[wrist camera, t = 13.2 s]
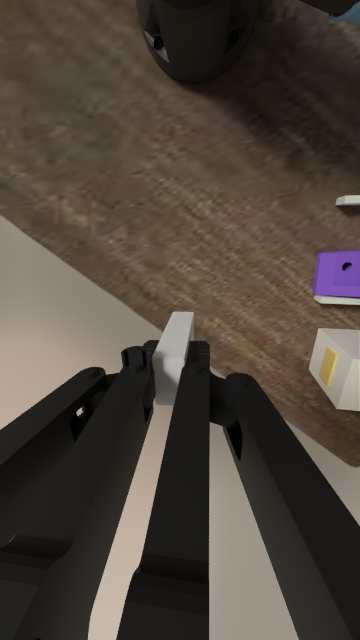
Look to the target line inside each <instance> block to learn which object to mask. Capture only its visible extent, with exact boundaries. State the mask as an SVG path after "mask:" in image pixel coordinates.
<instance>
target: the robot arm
mask: <svg viewBox="0 0 360 640" xmlns="http://www.w3.org/2000/svg"><path fill="white" fill-rule="evenodd" d="M299 1H302V2H304V3H306V4H308V5H310V6H313V7H315V8H317V9H319V10H322V11H324V12H326V13H328V14H329V18H330V19H332V20H333V21H341V20H346V21H349V22H351V23H354V24H357V25H360V0H299ZM258 4H259V0H136V5H137V12H138V17H139V22H140V25H141V29H142V32H143V35H144V38H145V41H146V44H147V46H148V49H149V51H150V53H151V55H152V56H153V58H154V60H155V61H156V63H157V64H158V65H159V66H160V67H161V68H162V69H163V70H164V71H165V72H166V73H167V74H168V75H170V76H171V77H173V78H175V79H177V80H180V81H183V82H188V83H198V82H203V81H207V80H210V79H212V78H214V77H216V76H218V75H219V74H221V73H222V72H223V71H225V70H226V69H227V68H228V67H229V66H230V65H231V64H232V63H233V62H234V61H235V59H236V58H237V57H238V56H239V54H240V53H241V51H242V49H243V48H244V46H245V44H246V42H247V40H248V38H249V36H250V33H251V31H252V28H253V25H254V22H255V18H256V14H257V9H258ZM121 355H122V363H123V368H122V370H121V371H120V373H115V374H108V375H106V373H105V370H104V369H103V368H101V367H90V368H87V369H84V370H83V371H80V372H79V373H77V374H76V375H75V376H73V377H72V378H71V379H69V380H68V381H67V382H65V383H64V384H62V385H61V386H60V387H59V388H57V389H56V390H54V391H53V392H52V393H50V394H49V395H47V396H46V397H45V398H43V399H42V400H41V401H39V402H38V403H37V404H35V405H34V406H33V407H31V408H30V409H29V410H27V411H26V412H24V413H23V414H22V415H20V416H19V417H17V418H16V419H15V420H13V421H12V422H11V423H9V424H8V425H7V426H5V427H4V428H2V429H1V430H0V640H88V630H89V621H90V616H91V612H92V608H93V604H94V601H95V598H96V595H97V591H98V588H99V585H100V582H101V579H102V575H103V572H104V569H105V566H106V562H107V559H108V556H109V553H110V549H111V546H112V543H113V540H114V537H115V534H116V530H117V527H118V524H119V521H120V517H121V514H122V511H123V508H124V505H125V501H126V498H127V495H128V492H129V489H130V485H131V482H132V479H133V476H134V473H135V469H136V466H137V463H138V460H139V456H140V453H141V450H142V447H143V443H144V440H145V437H146V434H147V431H148V427H149V424H150V421H151V418H152V415H153V401H154V398H155V400H156V404H159V405H173V406H174V407H173V412H172V417H171V422H170V426H169V431H168V436H167V440H166V445H165V450H164V454H163V460H162V464H161V469H160V473H159V478H158V483H157V487H156V492H155V497H154V502H153V507H152V511H151V516H150V520H149V525H148V530H147V534H146V539H145V544H144V549H143V553H142V557H141V561H140V564H139V567H138V568H137V569H136V570H135V572H134V574H133V576H132V579H131V582H130V585H129V589H128V593H127V596H126V600H125V604H124V608H123V613H122V618H121V622H120V626H119V630H118V634H117V639H116V640H209V434H210V432H209V431H210V430H209V429H210V427H209V425H210V422H212V423H215V424H218V425H221V426H223V431H224V434H225V437H226V440H227V442H228V445H229V448H230V451H231V453H232V456H233V458H234V462H235V464H236V467H237V470H238V472H239V475H240V478H241V481H242V484H243V486H244V489H245V492H246V495H247V497H248V500H249V503H250V506H251V508H252V511H253V514H254V517H255V519H256V522H257V525H258V528H259V531H260V533H261V536H262V539H263V541H264V544H265V547H266V550H267V552H268V555H269V558H270V561H271V564H272V566H273V569H274V572H275V574H276V577H277V580H278V583H279V586H280V588H281V591H282V594H283V597H284V599H285V602H286V605H287V608H288V610H289V613H290V616H291V619H292V621H293V624H294V627H295V630H296V632H297V635H298V638H299V640H360V526H359V525H358V523H357V522H356V520H355V519H354V517H353V516H352V515H351V513H350V512H349V510H348V509H347V508H346V506H345V505H344V504H343V502H342V501H341V500H340V498H339V496H338V495H337V494H336V492H335V491H334V489H333V488H332V487H331V485H330V484H329V482H328V481H327V480H326V478H325V477H324V475H323V474H322V473H321V471H320V470H319V468H318V467H317V466H316V464H315V463H314V461H313V460H312V458H311V457H310V456H309V454H308V453H307V452H306V450H305V449H304V447H303V446H302V444H301V443H300V442H299V440H298V439H297V437H296V436H295V435H294V433H293V432H292V430H291V429H290V428H289V426H288V425H287V424H286V422H285V421H284V419H283V418H282V416H281V415H280V414H279V412H278V411H277V409H276V408H275V407H274V405H273V404H272V402H271V401H270V399H269V398H268V397H267V395H266V394H265V392H264V391H263V390H262V388H261V387H260V385H259V384H258V383H257V381H256V380H255V379H254V378H253V377H252V376H250V375H248V374H244V373H232V374H229V375H228V376H227V377H226V379H223V378H220V377H217V376H215V375H214V374H212V372H211V371H210V345H209V344H208V343H207V342H206V341H194V312H173V313H172V315H171V318H170V320H169V322H168V324H167V326H166V328H165V330H164V333H163V335H162V337H161V340H149V341H147V342H146V343H144V345H143V346H142V347H141V346H133V347H129V348H127V349H124V350H123V351H122V352H121ZM81 407H82V411H83V413H82V414H81V415H79V416H77V413H76V412H77V411H78V409H80V408H81ZM15 534H16V535H15ZM12 538H13V539H12ZM11 539H12V540H11ZM10 540H11V541H10Z"/></svg>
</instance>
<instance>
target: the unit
mask: <svg viewBox="0 0 360 640" xmlns="http://www.w3.org/2000/svg"><path fill="white" fill-rule="evenodd" d="M309 371H310V372H311V373H312V375H313V376H314V378H315V379H316V380H317V382H318V383H319V385H320V386H321V387H322V389H323V390H324V392H325V393H326V394H327V396H328V397H329V399H330V400H331V402H332V403H333V404H334V406H335V407H336V409H344V410H355V411H360V330H347V329H328V328H319V329H318V333H317V337H316V341H315V345H314V349H313V353H312V357H311V361H310V365H309Z"/></svg>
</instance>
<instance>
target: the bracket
mask: <svg viewBox="0 0 360 640" xmlns="http://www.w3.org/2000/svg"><path fill="white" fill-rule="evenodd" d="M346 262H347V266H346V267H345V269H343V270H342V265H343V264H344V263H346ZM312 293H313V294H315V295H331V296H351V297H360V250H351V251H337V252H322V253H317V261H316V269H315V277H314V284H313V292H312Z"/></svg>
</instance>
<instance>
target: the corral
mask: <svg viewBox="0 0 360 640" xmlns="http://www.w3.org/2000/svg"><path fill="white" fill-rule="evenodd" d="M336 205H360V195H353V196H343V197H339V198H337V201H336ZM314 299H315V300H316V301H318V302H319V303H328V304H353V305H360V297H351V296H331V295H315V297H314Z"/></svg>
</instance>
